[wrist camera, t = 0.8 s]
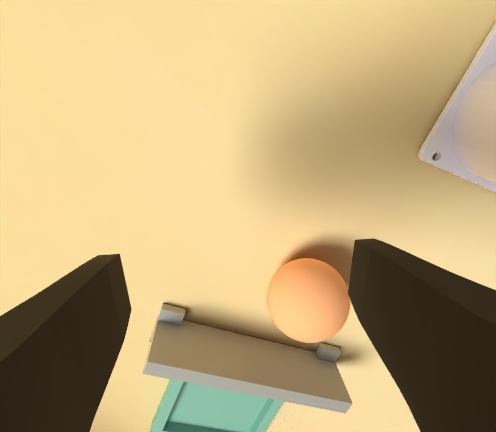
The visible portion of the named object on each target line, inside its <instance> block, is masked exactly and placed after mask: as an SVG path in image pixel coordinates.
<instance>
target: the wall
mask: <svg viewBox="0 0 496 432" xmlns="http://www.w3.org/2000/svg"><path fill="white" fill-rule="evenodd" d="M185 310H186V309H184V308H180V307H176V306H172V305H168V304H164V303H163V305H162V308H161V310H160V313H159V316H158V319H157V321H156V324H155V327H154V330H153V332H152V335H151V339H150V342H151V343H150V347H149V351H148V355H147V359H146V363H145V367H144V371H143V374H147V375H152V376H157V377H163V378H168V379H173V380H178V381H183V382H188V383H193V384H198V385H204V386H209V387H214V388H219V389H224V390H229V391H234V392H239V393H244V394H250V395H255V396H260V397H265V398H270V399H275V400H280V401H285V402H291V403H296V404H301V405H306V406H311V407H316V408H321V409H326V410H331V411H337V412H342V413H346V412H347V410H348V409H349V408H350V406H351V405H352V401H351V399H350V397H349V394H348V392H347V389H346V387H345V385H344V382H343V380H342V378H341V375H340V373H339V370H338V368H337V366H336V363H335V362H336V360H337V359H338V357H339V356H340V354H341V352H340V350H339V347H336V346H332V345H328V344H324V343H320V345H319V346H318V348H317V350H316V351H315V352H313V351H309V350H305V349H300V348H296V347H292V346H288V345H284V344H280V343H276V342H271V341H267V340H263V339H259V338H255V337H251V336H247V335H242V334H238V333H234V332H230V331H226V330H222V329H218V328H213V327H209V326H205V325H201V324H197V323H193V322H189V321H184V320H183V318H184V316H185Z"/></svg>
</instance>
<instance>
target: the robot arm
mask: <svg viewBox="0 0 496 432" xmlns="http://www.w3.org/2000/svg"><path fill="white" fill-rule="evenodd" d="M435 153H437V156H436V157H435V159H433V158H432V157H433V155H434V154H435ZM418 156H419V159H421V160H422V161H424V162H427V163H429V164H431V165H433V166H436V167H438V168H440V169H443V170H445V171H447V172H449V173H452V174H454V175H456V176H459V177H461V178H463V179H465V180H468V181H470V182H472V183H474V184H477V185H479V186H481V187H484V188H486V189H488V190H490V191H493V192H495V193H496V22H495V24H494V25H493V27H492V29H491V30H490V32H489V34H488V35H487V37H486V39H485V40H484V42H483V44H482V46H481V47H480V49H479V51H478V52H477V54H476V56H475V57H474V59H473V61H472V62H471V64H470V66H469V67H468V69H467V71H466V72H465V74H464V76H463V77H462V79H461V81H460V83H459V84H458V86H457V88H456V89H455V91H454V93H453V94H452V96H451V98H450V99H449V101H448V103H447V104H446V106H445V108H444V109H443V111H442V113H441V114H440V116H439V118H438V120H437V121H436V123H435V125H434V126H433V128H432V130H431V131H430V133H429V135H428V136H427V138H426V140H425V141H424V143H423V145H422V146H421V148H420V150H419V152H418ZM348 295H349V297H350V300H351V302H352V305H353V307H354V310H355V312H356V314H357V317H358V319H359V321H360V323H361V325H362V327H363V328H364V330H365V332H366V333H367V335H368V337H369V339H370V340H371V342H372V344H373V345H374V347H375V349H376V351H377V352H378V354H379V356H380V357H381V359H382V361H383V362H384V364H385V366H386V367H387V369H388V371H389V372H390V374H391V376H392V377H393V379H394V381H395V382H396V384H397V386H398V387H399V389H400V391H401V393H402V395H403V397H404V398H405V400H406V402H407V404H408V406H409V408H410V410H411V412H412V414H413V417H414V419H415V421H416V423H417V425H418V427H419V429H420V431H421V432H496V290H494V289H491V288H488V287H486V286H483V285H481V284H478V283H476V282H473V281H471V280H469V279H466V278H464V277H461V276H459V275H456V274H454V273H452V272H449V271H447V270H445V269H443V268H440V267H438V266H436V265H434V264H431V263H429V262H427V261H425V260H423V259H420V258H418V257H416V256H414V255H412V254H410V253H407V252H405V251H403V250H401V249H399V248H396V247H394V246H392V245H390V244H387V243H385V242H382V241H379V240H376V239H361V240H355V243H354V251H353V259H352V266H351V274H350V282H349V289H348ZM130 313H131V305H130V300H129V296H128V291H127V286H126V282H125V277H124V272H123V267H122V263H121V258H120V254H113V255H98V256H96V257H94V258H93V259H91V260H89V261H87V262H86V263H84V264H83V265H81V266H79V267H78V268H76V269H75V270H73V271H72V272H70V273H69V274H67V275H66V276H64V277H62V278H61V279H59V280H58V281H56V282H55V283H53V284H52V285H50V286H49V287H47V288H46V289H44V290H43V291H41V292H39V293H38V294H36V295H35V296H33V297H31V298H30V299H28V300H26V301H25V302H23V303H21V304H20V305H18V306H16V307H15V308H13V309H11V310H10V311H8V312H6V313H5V314H3V315H2V316H0V432H89V431H90V428H91V425H92V423H93V420H94V417H95V414H96V412H97V409H98V407H99V404H100V401H101V399H102V396H103V394H104V391H105V389H106V386H107V384H108V381H109V378H110V376H111V373H112V371H113V368H114V366H115V363H116V360H117V358H118V355H119V352H120V350H121V347H122V344H123V342H124V339H125V335H126V331H127V327H128V322H129V318H130Z"/></svg>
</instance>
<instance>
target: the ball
mask: <svg viewBox="0 0 496 432" xmlns="http://www.w3.org/2000/svg"><path fill="white" fill-rule="evenodd" d="M267 306H268V310H269V313H270V316H271V318H272V320H273V322H274V323H275V325H276V326H277V327H278V328H279V329H280V330H281V331H282V332H283V333H284V334H285V335H287V336H288V337H290V338H292V339H294V340H297V341H300V342H306V343H315V342H320V341H324V340H326V339H328V338H330V337H332V336H333V335H335V334H336V333H337V332H338V331H339V330H340V329H341V328H342V326H343V325H344V323H345V321H346V319H347V317H348V314H349V309H350V297H349V295H348V288H347V285H346V283H345V281H344V279H343V278H342V276H341V275H340V274H339V273H338V272H337V271H336V270H335V269H334V268H333V267H332V266H330V265H329V264H327V263H325V262H323V261H320V260H317V259H312V258H301V259H296V260H293V261H290V262H288V263H286V264H285V265H283V266H282V267H281V268H280V269H279V270H278V271H277V272H276V273H275V274H274V276H273V277H272V279H271V281H270V284H269V287H268V290H267Z"/></svg>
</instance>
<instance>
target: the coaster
mask: <svg viewBox="0 0 496 432" xmlns="http://www.w3.org/2000/svg"><path fill="white" fill-rule="evenodd" d="M283 402H284V401H280V400H275V399H270V398H265V397H260V396H255V395H250V394H244V393H239V392H234V391H229V390H224V389H219V388H214V387H209V386H204V385H198V384H193V383H188V382H183V381H178V380H173V379H170V380H169V383H168V385H167V388H166V390H165V392H164V395H163V397H162V400H161V402H160V404H159V407H158V409H157V412H156V414H155V416H154V419H153V421H152V425H151V431H150V432H265V431H266V429H267V428H268V426H269V425H270V423H271V421H272V420H273V418H274V416H275V415H276V413H277V412H278V410H279V408H280V407H281V405H282V403H283Z"/></svg>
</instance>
